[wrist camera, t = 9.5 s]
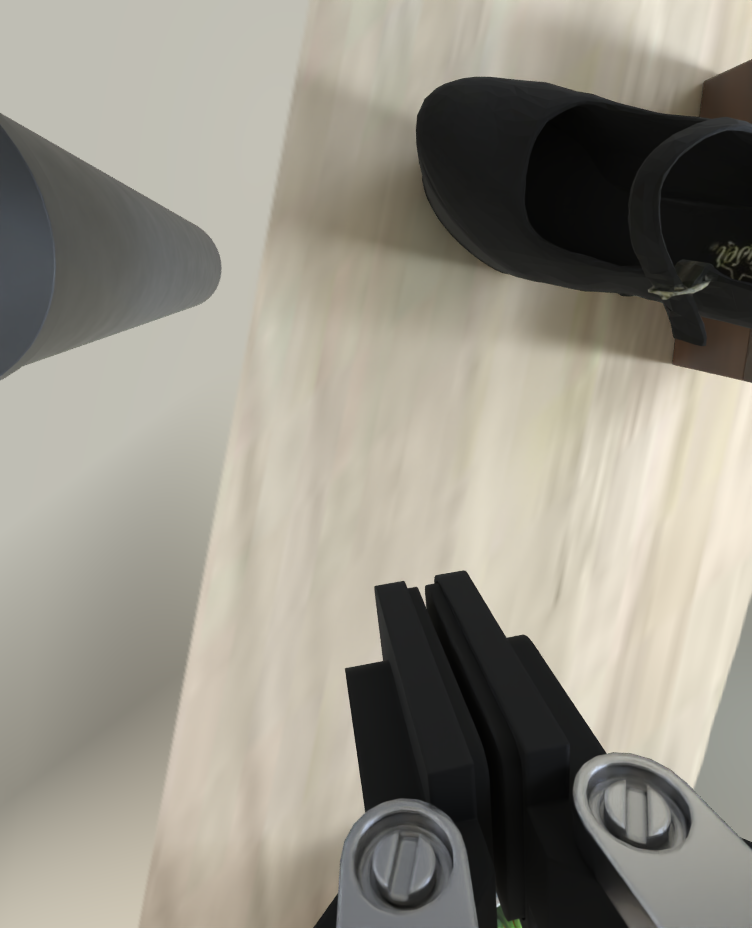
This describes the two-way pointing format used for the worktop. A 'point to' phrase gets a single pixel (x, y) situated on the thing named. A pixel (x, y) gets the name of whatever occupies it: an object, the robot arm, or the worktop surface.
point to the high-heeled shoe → (595, 194)
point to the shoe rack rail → (728, 346)
